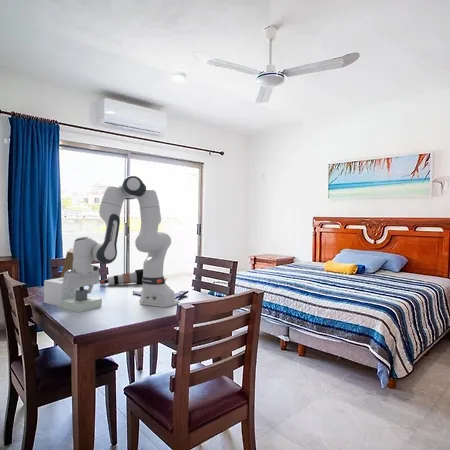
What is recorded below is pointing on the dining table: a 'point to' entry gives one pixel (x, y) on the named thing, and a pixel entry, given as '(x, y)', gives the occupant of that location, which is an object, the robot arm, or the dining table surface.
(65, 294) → the block
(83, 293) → the plug
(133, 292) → the dining table surface
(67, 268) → the photo frame
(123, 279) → the grey banded tapered cylinder
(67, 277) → the robot arm
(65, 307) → the plate
